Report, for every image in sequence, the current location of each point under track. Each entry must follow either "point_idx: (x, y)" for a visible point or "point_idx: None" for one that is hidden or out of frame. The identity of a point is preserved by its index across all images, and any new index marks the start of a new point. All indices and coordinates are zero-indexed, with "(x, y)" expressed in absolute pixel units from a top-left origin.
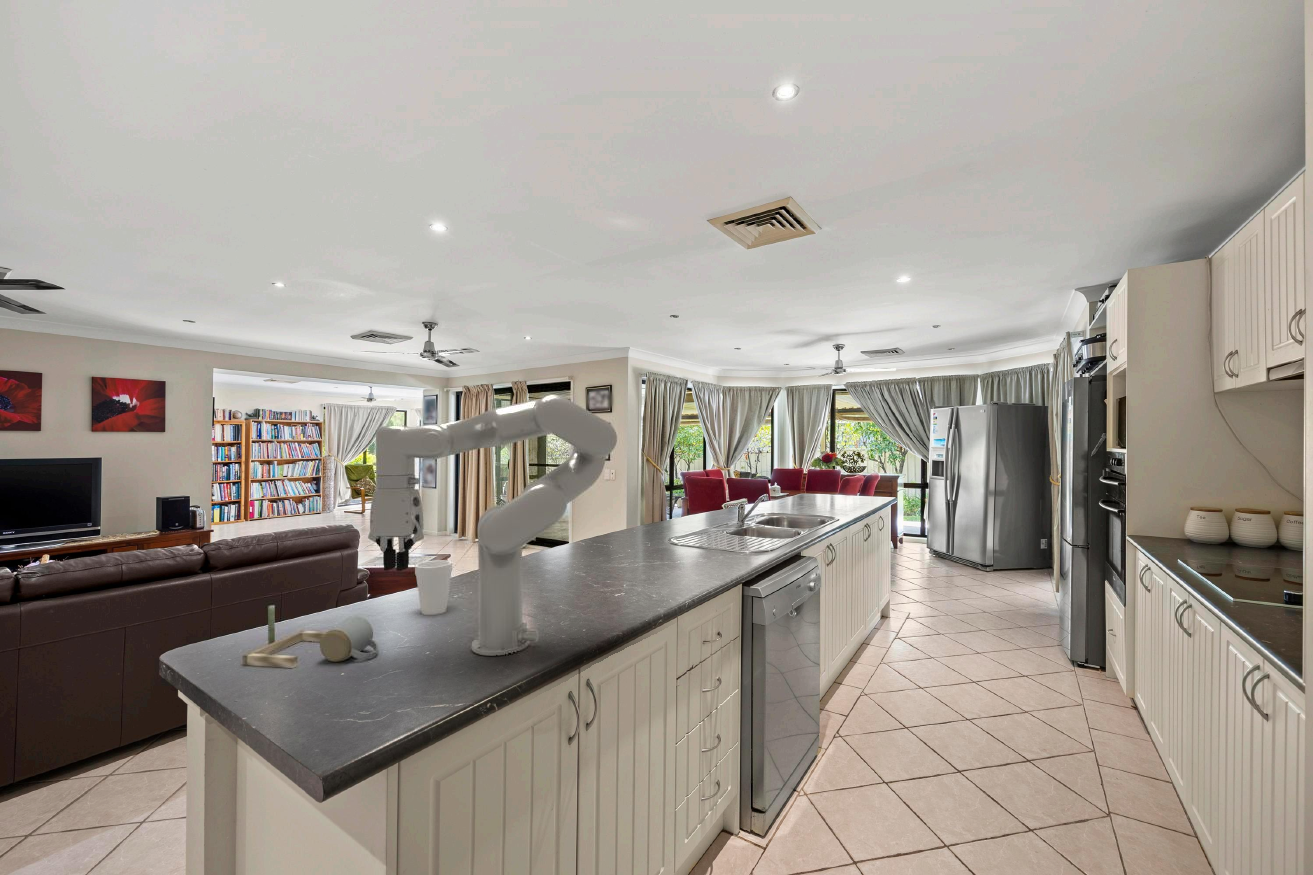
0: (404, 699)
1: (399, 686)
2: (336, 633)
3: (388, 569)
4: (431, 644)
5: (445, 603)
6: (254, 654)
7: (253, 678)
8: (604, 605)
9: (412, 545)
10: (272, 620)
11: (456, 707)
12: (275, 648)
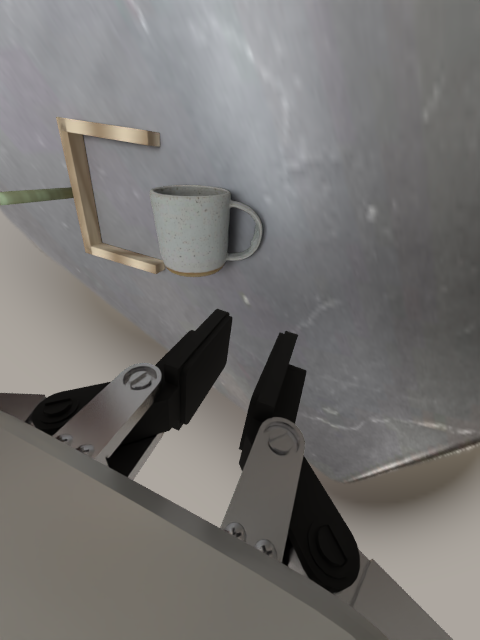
0: (373, 397)
1: (353, 359)
2: (188, 276)
3: (226, 358)
4: (370, 149)
5: None
6: (96, 250)
7: (146, 296)
8: None
9: (322, 494)
10: (34, 199)
11: (459, 437)
12: (88, 201)
